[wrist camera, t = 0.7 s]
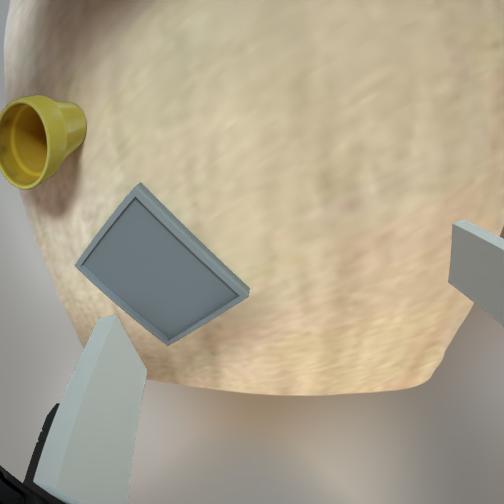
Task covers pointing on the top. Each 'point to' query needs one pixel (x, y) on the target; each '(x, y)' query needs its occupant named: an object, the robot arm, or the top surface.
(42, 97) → the plant pot
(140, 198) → the charcoal tray
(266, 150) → the top surface
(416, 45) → the top surface
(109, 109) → the top surface
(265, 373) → the top surface
